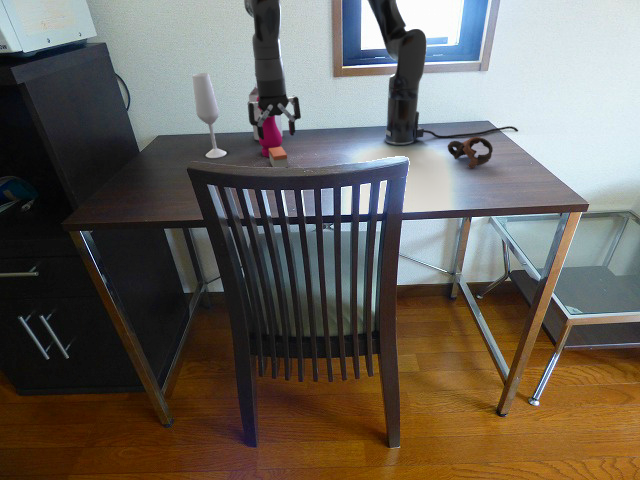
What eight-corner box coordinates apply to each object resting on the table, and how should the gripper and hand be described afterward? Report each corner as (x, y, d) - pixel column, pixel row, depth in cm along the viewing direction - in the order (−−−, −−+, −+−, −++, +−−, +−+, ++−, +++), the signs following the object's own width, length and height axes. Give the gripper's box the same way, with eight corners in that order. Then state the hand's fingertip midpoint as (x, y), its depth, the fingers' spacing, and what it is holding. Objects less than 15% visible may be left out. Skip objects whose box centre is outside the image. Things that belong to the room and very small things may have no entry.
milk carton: (282, 136, 136) (277, 79, 126) (270, 143, 131) (263, 84, 121) (267, 134, 139) (260, 78, 129) (254, 140, 134) (246, 82, 124)
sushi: (282, 159, 118) (281, 146, 116) (288, 168, 112) (287, 154, 110) (269, 161, 117) (268, 148, 115) (274, 170, 111) (273, 156, 109)
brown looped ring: (482, 157, 115) (496, 138, 108) (480, 181, 111) (494, 163, 103) (443, 145, 115) (455, 126, 108) (439, 169, 111) (451, 151, 104)
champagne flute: (230, 153, 124) (217, 73, 111) (213, 159, 120) (196, 77, 107) (218, 148, 128) (204, 71, 115) (201, 154, 124) (184, 75, 111)
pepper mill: (279, 158, 119) (272, 90, 108) (257, 157, 121) (248, 90, 110) (286, 149, 125) (280, 85, 114) (265, 149, 126) (257, 85, 115)
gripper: (245, 82, 96) (255, 144, 105) (300, 75, 100) (304, 136, 109) (241, 76, 102) (250, 136, 111) (292, 70, 106) (297, 129, 115)
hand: (277, 136), depth 110 cm, fingers open, 8 cm apart
